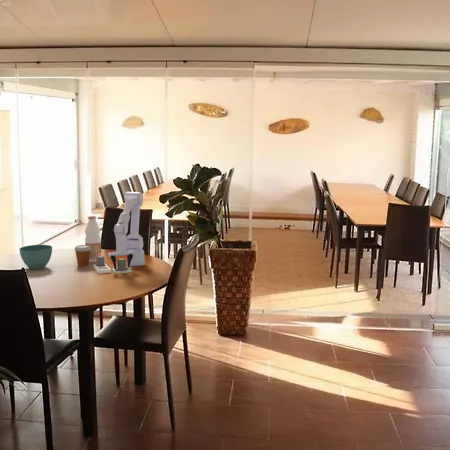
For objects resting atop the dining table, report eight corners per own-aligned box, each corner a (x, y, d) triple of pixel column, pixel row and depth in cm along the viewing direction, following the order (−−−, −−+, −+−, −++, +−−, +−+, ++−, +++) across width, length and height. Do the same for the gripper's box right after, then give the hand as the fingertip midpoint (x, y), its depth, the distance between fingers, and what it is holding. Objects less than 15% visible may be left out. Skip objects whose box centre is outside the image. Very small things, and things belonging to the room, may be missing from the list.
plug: (124, 270, 325) (124, 258, 324) (126, 271, 322) (125, 259, 321) (117, 270, 324) (117, 258, 323) (119, 272, 320) (118, 260, 319)
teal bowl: (43, 272, 321) (42, 251, 319) (14, 271, 324) (12, 250, 322) (58, 265, 338) (57, 245, 336) (31, 264, 342) (29, 244, 340)
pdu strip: (105, 267, 334) (105, 263, 334) (110, 273, 319) (110, 269, 319) (93, 268, 331) (93, 264, 331) (98, 274, 317) (98, 270, 316)
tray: (128, 269, 329) (127, 266, 328) (131, 273, 320) (131, 270, 320) (112, 270, 325) (112, 268, 325) (115, 274, 317) (115, 271, 317)
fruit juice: (90, 263, 343) (88, 218, 339) (83, 260, 350) (81, 216, 346) (104, 261, 349) (102, 216, 345) (97, 258, 356) (95, 214, 352)
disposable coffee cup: (87, 268, 331) (86, 248, 329) (72, 267, 333) (71, 247, 331) (94, 264, 340) (93, 245, 339) (79, 264, 342) (78, 244, 340)
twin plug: (103, 267, 331) (103, 255, 330) (104, 268, 328) (104, 256, 327) (96, 268, 330) (96, 256, 329) (97, 269, 326) (97, 257, 325)
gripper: (109, 246, 314) (110, 270, 316) (135, 245, 319) (136, 268, 322) (107, 244, 320) (108, 268, 322) (132, 242, 326) (133, 265, 328)
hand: (121, 268), depth 322 cm, fingers open, 7 cm apart
